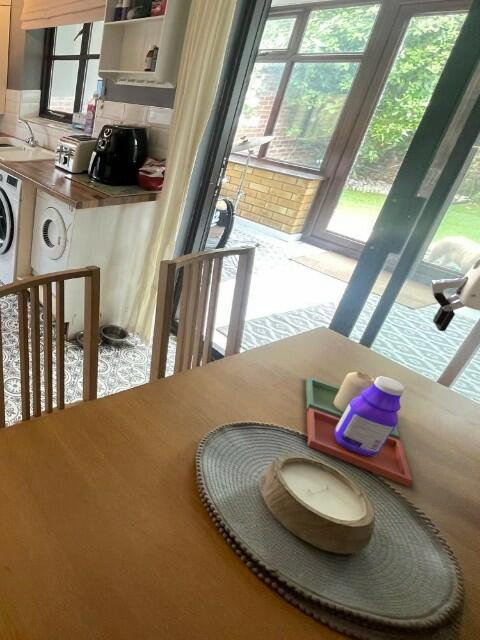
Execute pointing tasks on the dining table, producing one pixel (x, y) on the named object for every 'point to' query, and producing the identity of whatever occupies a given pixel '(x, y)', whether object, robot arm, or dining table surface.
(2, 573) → the dining table surface
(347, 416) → the bottle
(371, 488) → the dining table surface
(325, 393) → the tray sage
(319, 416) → the tray terracotta
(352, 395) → the candle
